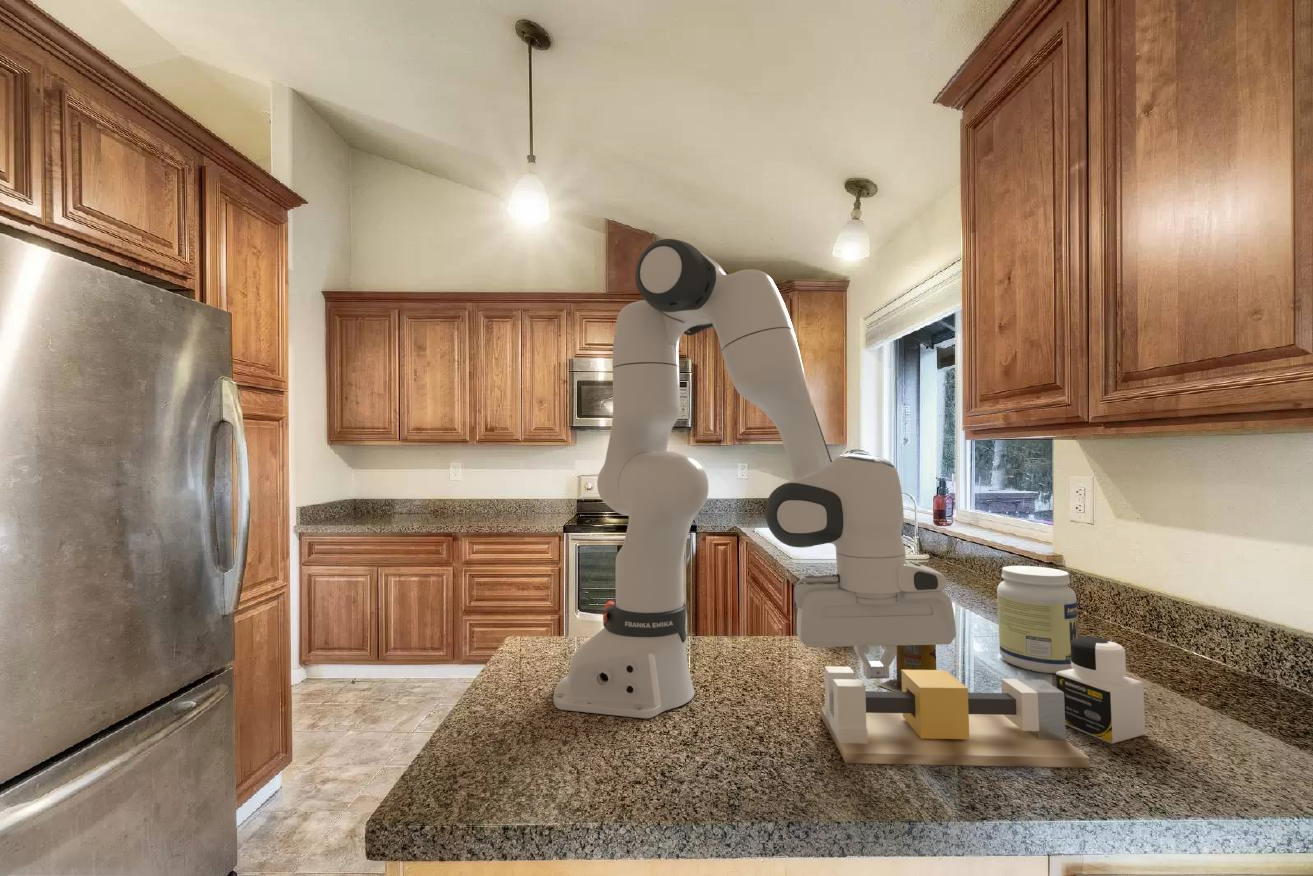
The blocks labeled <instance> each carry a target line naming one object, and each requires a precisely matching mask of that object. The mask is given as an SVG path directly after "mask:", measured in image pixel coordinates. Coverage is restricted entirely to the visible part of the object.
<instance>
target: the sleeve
mask: <svg viewBox="0 0 1313 876" xmlns="http://www.w3.org/2000/svg"><path fill="white" fill-rule="evenodd" d="M901 674H902V692H912V693H913V694H914V695H915V713H903V717H904V718H905V720H906V721H907V722H908V723H909V724H910V726H911V727H912V728H913V729H914V730H915V731H916V733H917V734H918V735H919V736H920V737H921V738H930V739H969V711H968V693H969V688H968V687H967V686H966V685H965V684H963V683H962V682H960V681H959V680H958V679H957V678H956V677H954V676H953V675H952V674H951V673H950V672H948V671H947V670H945V669H936V670H901Z"/></svg>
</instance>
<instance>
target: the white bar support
mask: <svg viewBox="0 0 1313 876" xmlns="http://www.w3.org/2000/svg"><path fill="white" fill-rule="evenodd" d="M855 677H856V676H855V671H854V670H853V669H852V668H851V666H829V665H828V666H826V665H825V666H824V695H825V696H824V697H825V698H824V701H825V702H824V708H825V717H826V718H827V720H828V722H829V724H830V726H831V728H832V729H833V731H834V733H835V735H836V737H837V739H838V741H839V742H840V743H860V744H868V733H867V728H866V686H865V684H864V683H863V682H862V680H861V679H858V678H855ZM833 697H834V706H833Z"/></svg>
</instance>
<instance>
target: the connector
mask: <svg viewBox="0 0 1313 876" xmlns="http://www.w3.org/2000/svg"><path fill="white" fill-rule="evenodd" d="M1016 679H1017V678H1016ZM1017 680H1019V681H1020V682H1022V683H1023V684H1025V685H1026V686H1028V687H1029V688H1031V689H1032V690H1034V691H1036V692H1037V693H1038V715H1039V731H1028V732H1029V733H1031V734H1032V735H1033V736H1034V737H1036V738H1037V739H1038V740H1066V741H1067V736H1066V735H1067V734H1066V732H1067V729H1066V728H1067V727H1066V725H1065V703H1064V692H1062V691H1061V690H1059V689H1057V686H1054V685H1052V684H1051V683H1049V682H1048V681H1046V680H1044V679H1023V678H1022V679H1017Z"/></svg>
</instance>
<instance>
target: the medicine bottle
mask: <svg viewBox="0 0 1313 876" xmlns="http://www.w3.org/2000/svg"><path fill="white" fill-rule="evenodd" d="M1070 644H1071V666H1072V667H1073V669H1068V670H1063V671H1058V672H1057V673H1055V674H1056V675H1055V676H1056V678H1055V679H1056V688H1057V689H1059V690H1061V691H1062V692H1064V703H1065V726H1067V727H1070V728H1072V729H1073V730H1077V731H1079V732H1080V733H1081V732H1082V733H1083V734H1086V735H1088V736H1091V737H1094V738H1096V739H1099V740H1101V741H1103V742H1105V743H1108V744H1110V745H1112V744H1117V743H1120V742H1124V741H1128V740H1131V739H1135V738H1138V737H1141V736H1142V737H1143V736H1144V735H1146V717H1145V713H1146V712H1145V697H1144V696H1145V695H1144V694H1145V693H1144V683H1143V682H1142V681H1141V680H1137V679H1135V678H1132V677H1127V664H1126V663H1127V662H1126V661H1127V659H1126V649H1125V648H1124V647H1123V645H1120V644H1119V643H1117V642H1115V641H1113V640H1110V639H1105V638H1102V637H1093V636H1081V637H1080V636H1078V638H1075V639H1073V640H1072V641H1071V642H1070Z"/></svg>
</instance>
